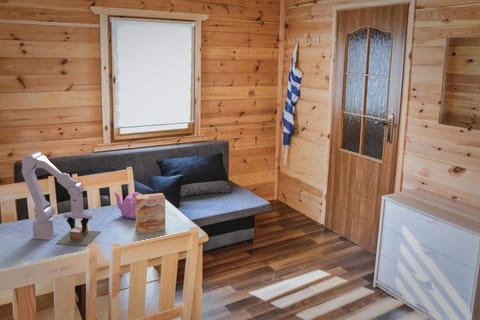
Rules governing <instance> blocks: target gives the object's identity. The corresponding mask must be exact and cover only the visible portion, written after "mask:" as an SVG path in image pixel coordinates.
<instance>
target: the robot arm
mask: <svg viewBox="0 0 480 320" xmlns="http://www.w3.org/2000/svg"><path fill="white" fill-rule="evenodd" d="M21 166H22V167H21V174H22V177H23V179H24V182H25V183H26V186H27V188H28V191H29V193H30V196H31V198H32V201H33V203H34V207H33V212H34V219H35V220H33V222H32V239H33V240H35V239H36V240H48V241H49V240H52V239H53V238H54V237H56V236H57V235H58V232H54V231H55V229H54V220H53V219H54V218H53V216H54V215H55V209H54V206H52V205H51V203H50V202H49V201H48V200H46V197H45V195H44V192H43V190H42V188H41V185H40V183H39V180H38V177H37V175H36V172H35V171H36V170H37V169H43V170H45V171H46V172H48V173H49V174H51V175H52V176H53V177H54V178H56V182H57V183H59V184H60V185H61V186H62V187H63V188H64V189H66V190H67V192H68V194H69V196H70V209H71V210H70V211H71V213H70V212H69V213H68V212H67V213H66V212H64V213H63V215H62V217H63V219H66V222H67V223H68V225H69V227H70V229H71V230H72V229H73V228H74V227H75V226H76V219H80V224H82V232H83V233H84V232H85V231H86V226H87V225H88V223H89V220H93V214H88V213H85V212H84V200H83V199H84V198H83V196H84V195H83V191H84V189H85V186H84V185H83V184H82V182H80V181H77V180H75V179H74V178H72V177H71V175H70V174H69V173H66V172H61V171H60V169H58V168H57V167H56V166H55V165H54V164H53V163H52V162H50V160H49V159H48V158H47V156H46V155H44V154H43V153H42V152H40V151H37V150H35V151H33V152H32V153H30V154H27V155H25V156H24V157H23V158H22V160H21ZM71 230H70V231H71Z"/></svg>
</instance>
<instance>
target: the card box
mask: <svg viewBox="0 0 480 320" xmlns="http://www.w3.org/2000/svg"><path fill="white" fill-rule="evenodd" d="M88 226H89V225H88V224H87V226H86V231H85V232H84V233H83V232H82V224H81V223H78V224H77V225H75V227H74V228H73V229H72V230H70V231H69V232H70V241H81V240H82V239H83V238H84V237H85V236H86V235H87V234H88V231H89V227H88Z"/></svg>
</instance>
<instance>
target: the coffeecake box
mask: <svg viewBox="0 0 480 320" xmlns="http://www.w3.org/2000/svg"><path fill="white" fill-rule="evenodd" d="M135 213H136V219H135V230H136V233H137V235H139V234H148V233H157V232H164V231H166V196H165V195H164V193H163V192H159V193H158V192H157V193H147V194H142V195H135Z"/></svg>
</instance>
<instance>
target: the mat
mask: <svg viewBox="0 0 480 320" xmlns="http://www.w3.org/2000/svg"><path fill="white" fill-rule="evenodd" d="M100 233H102V231H98V230H88V234H87V235H86V236H85V237H84V238H83V239H82V240H81V241H70V231H68V232H67V233H66V234H65V235H64V236H63V237H61V238H60V239H59V240H58V241H57V242H55V244H56V245H64V246H77V247H79V246H80V247H81V246H82V247H87V246H88V244H89V243H90V244H91V243H92V242H93V241H94V240H95V239H96V238H97V237H98V236H99V235H100ZM90 244H89V245H90Z"/></svg>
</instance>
